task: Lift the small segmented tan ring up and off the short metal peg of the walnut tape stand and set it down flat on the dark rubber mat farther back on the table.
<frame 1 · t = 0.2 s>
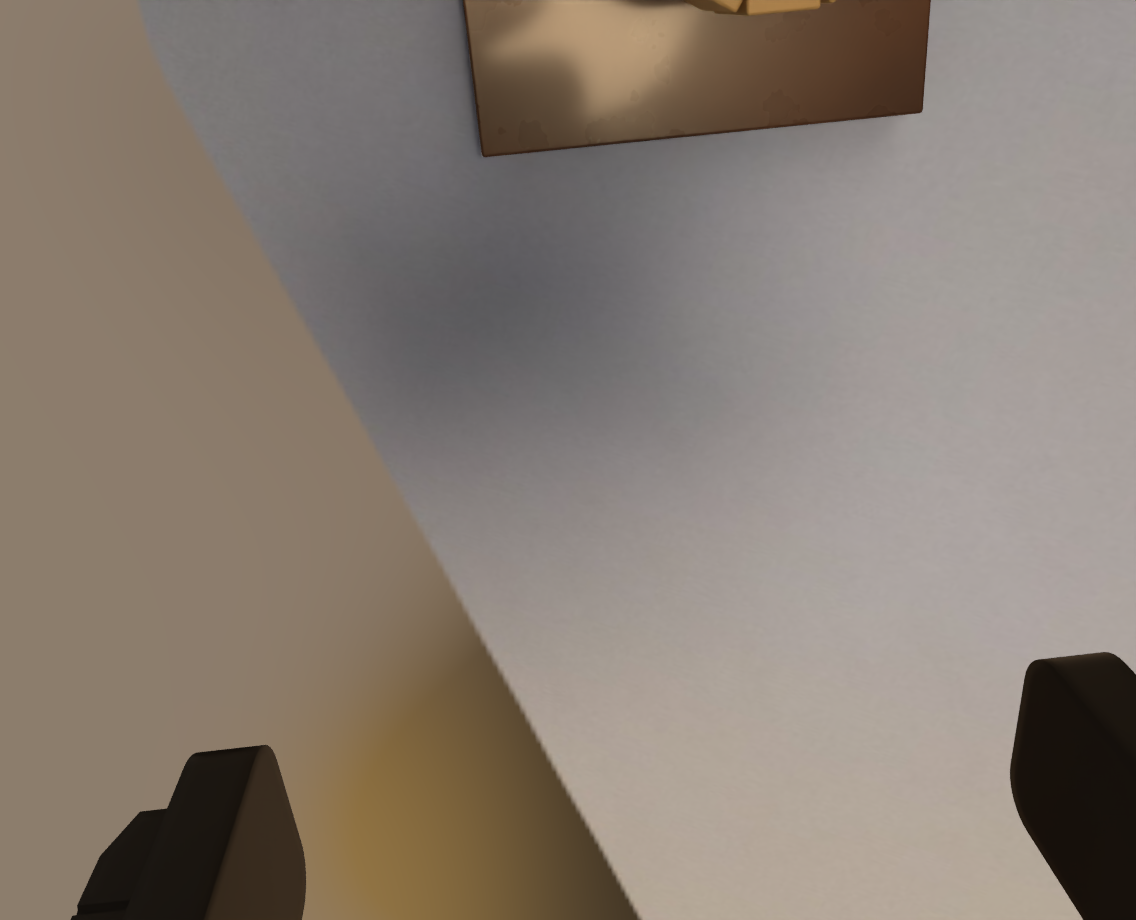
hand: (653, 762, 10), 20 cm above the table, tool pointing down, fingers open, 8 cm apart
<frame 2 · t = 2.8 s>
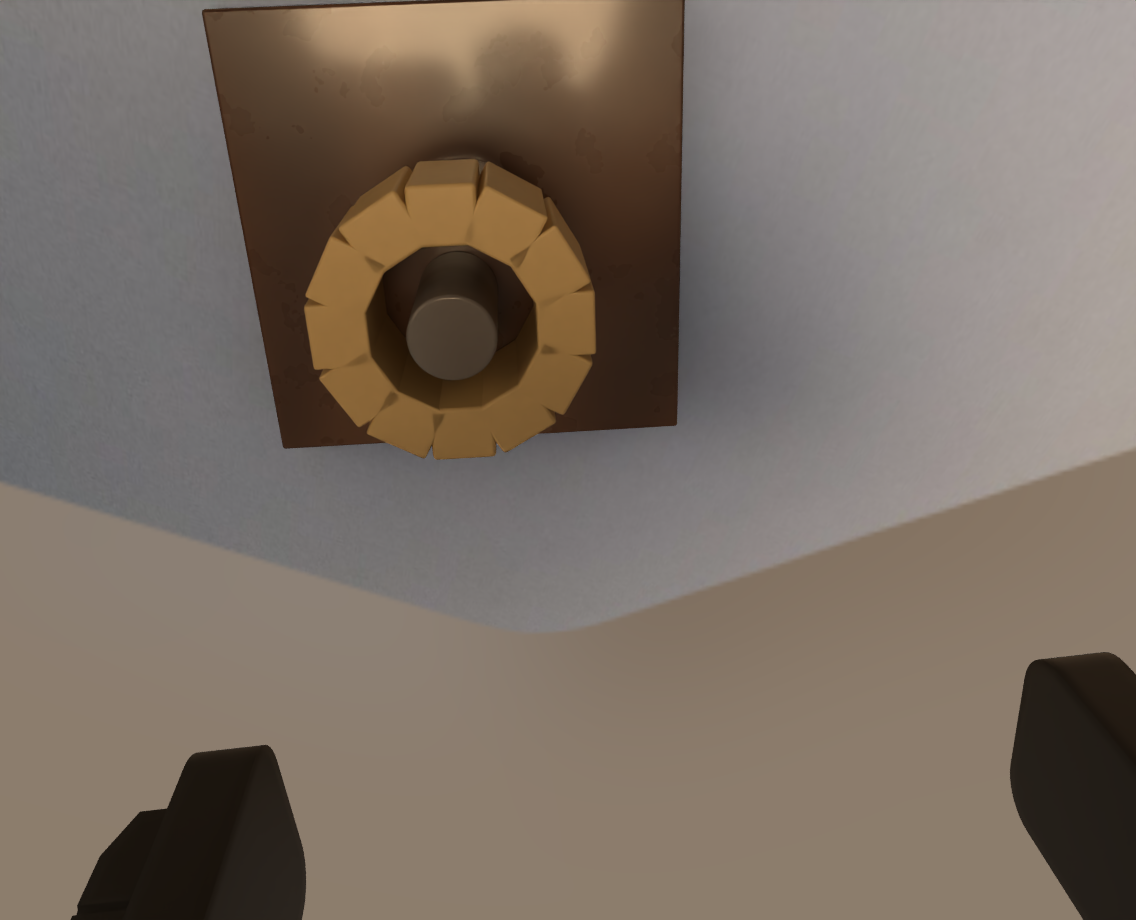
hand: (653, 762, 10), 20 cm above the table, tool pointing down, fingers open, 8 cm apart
segmented tan ring: (458, 289, 22), point 6 cm above the table, touching tape stand
tape stand: (466, 231, 27), on the table
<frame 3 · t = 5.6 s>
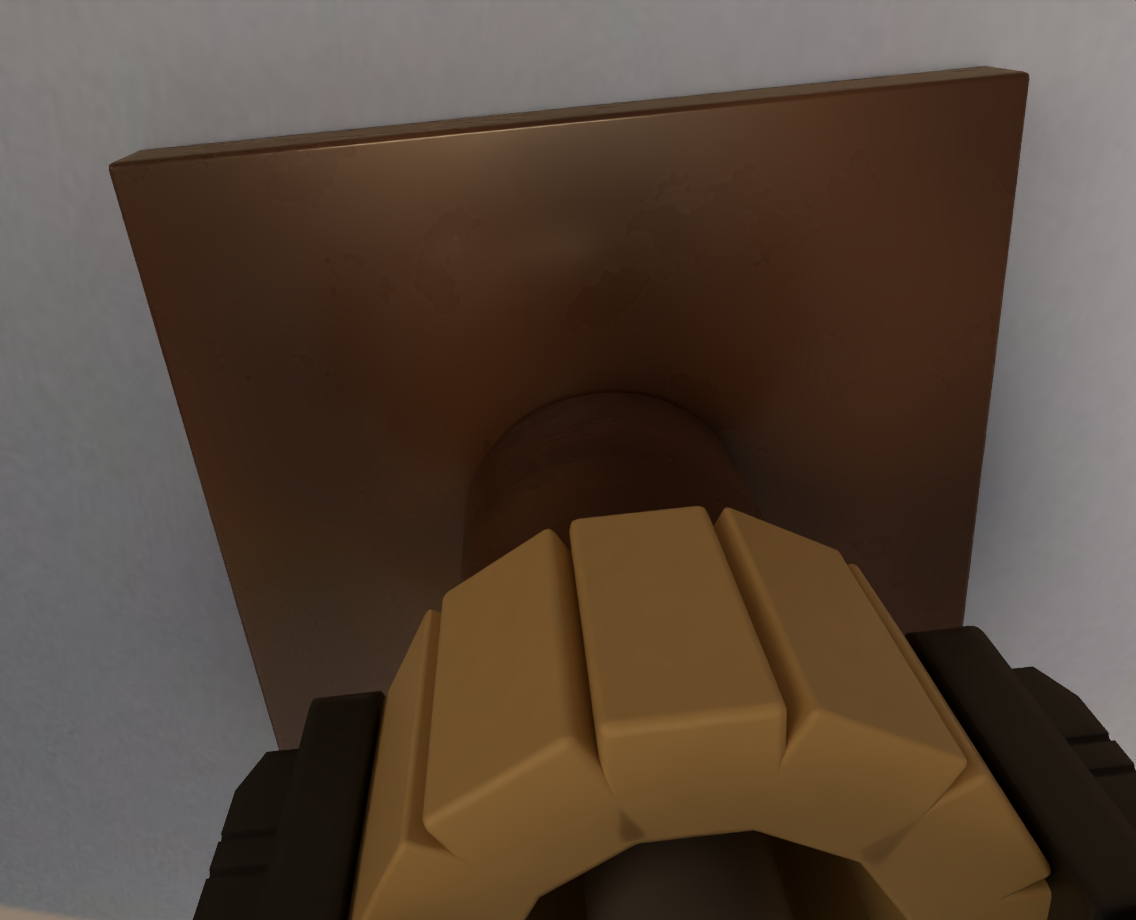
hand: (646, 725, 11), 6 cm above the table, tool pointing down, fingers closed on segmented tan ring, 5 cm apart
segmented tan ring: (651, 735, 11), point 6 cm above the table, touching gripper, tape stand
tape stand: (598, 485, 16), on the table
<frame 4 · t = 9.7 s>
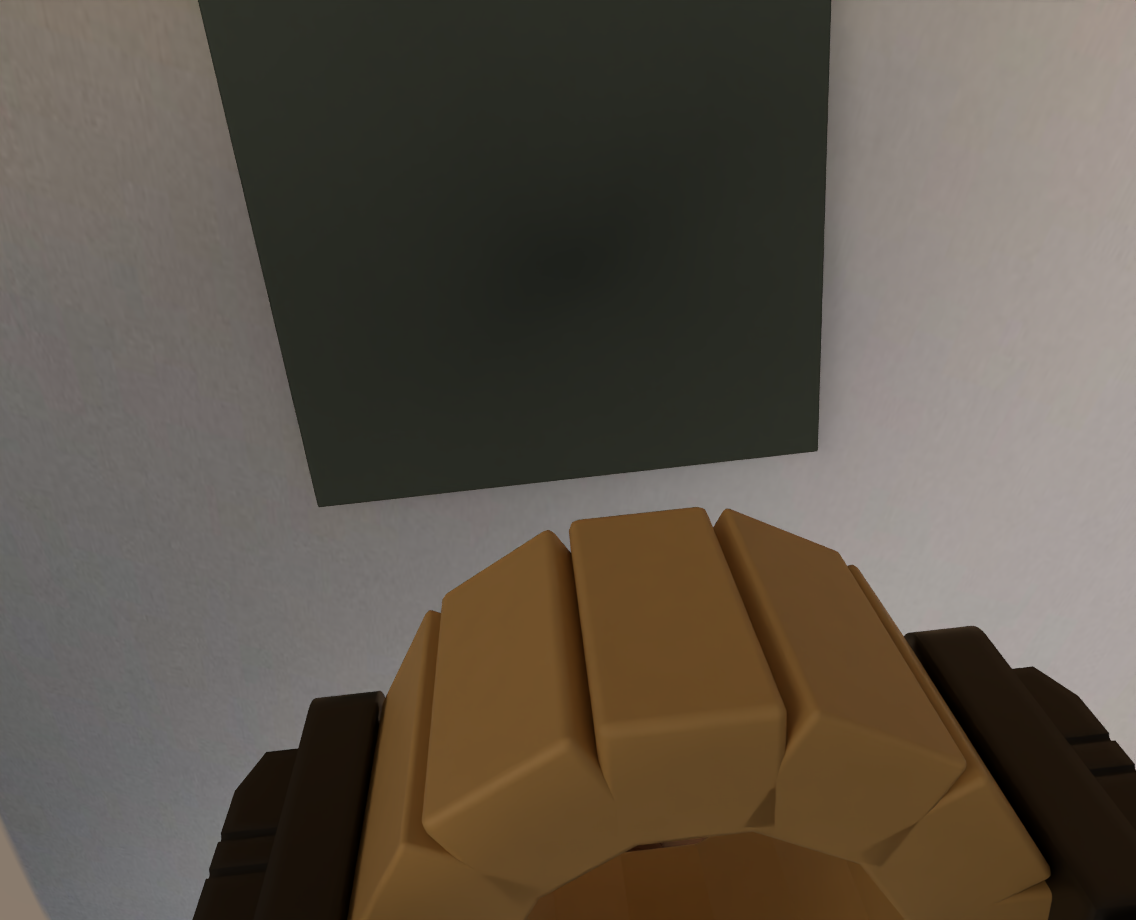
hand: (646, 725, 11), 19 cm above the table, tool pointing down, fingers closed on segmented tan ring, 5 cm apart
segmented tan ring: (650, 736, 11), point 19 cm above the table, touching gripper
tape stand: (604, 827, 38), on the table
mat: (543, 223, 27), on the table
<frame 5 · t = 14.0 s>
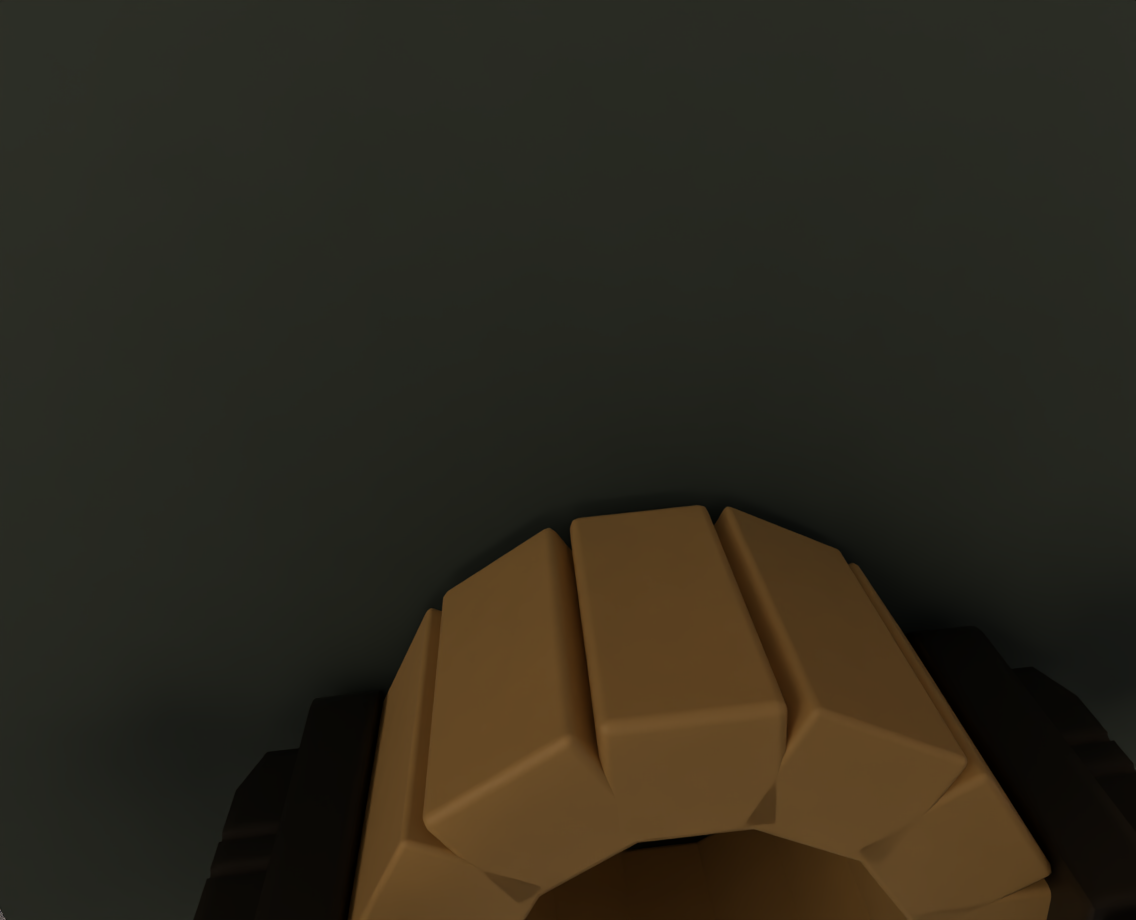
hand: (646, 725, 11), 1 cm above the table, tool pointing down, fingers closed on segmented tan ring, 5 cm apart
segmented tan ring: (651, 734, 11), point 1 cm above the table, touching gripper
mat: (639, 679, 11), on the table
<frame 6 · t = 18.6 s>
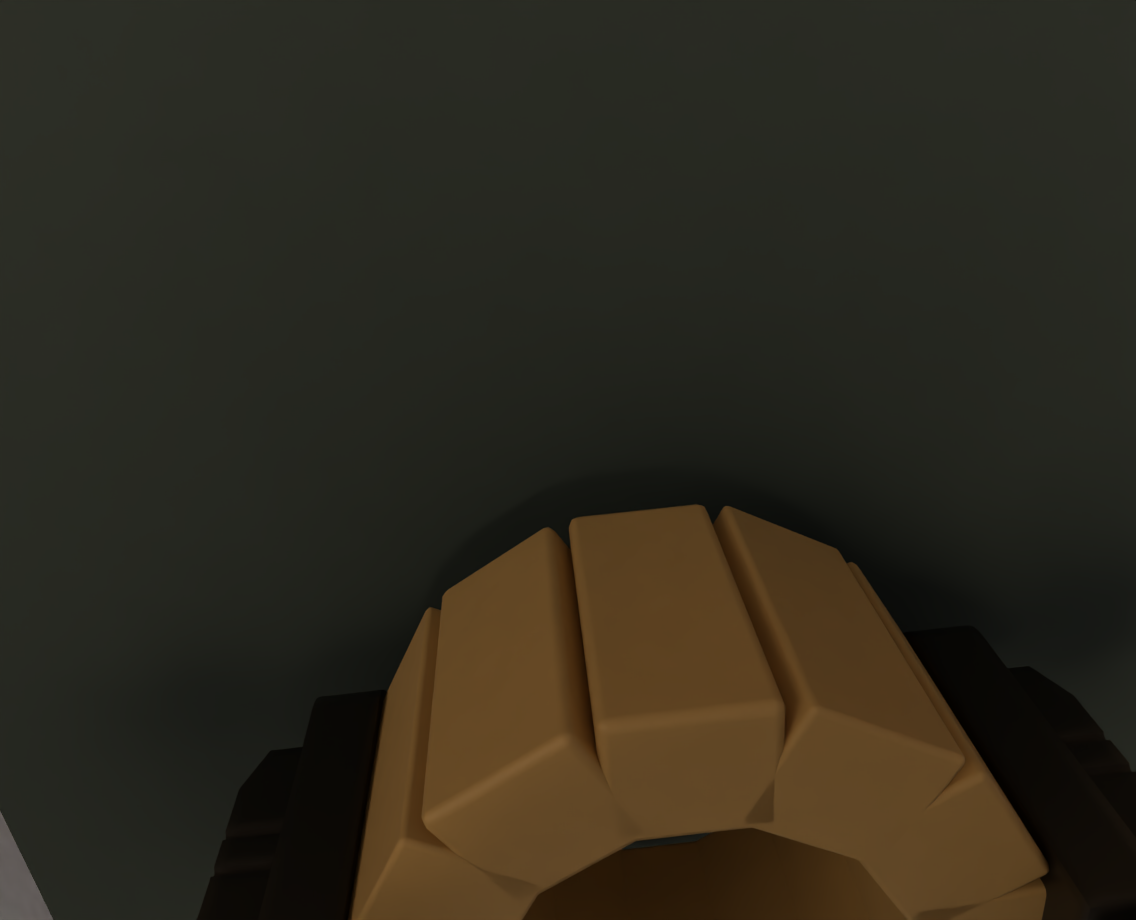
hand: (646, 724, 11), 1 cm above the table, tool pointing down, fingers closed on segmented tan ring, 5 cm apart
segmented tan ring: (650, 733, 11), point 2 cm above the table, touching gripper
mat: (634, 643, 12), on the table
when the fingers open (1 cm above the table, at t = 23.0 s): segmented tan ring drops 1 cm, resting on mat.
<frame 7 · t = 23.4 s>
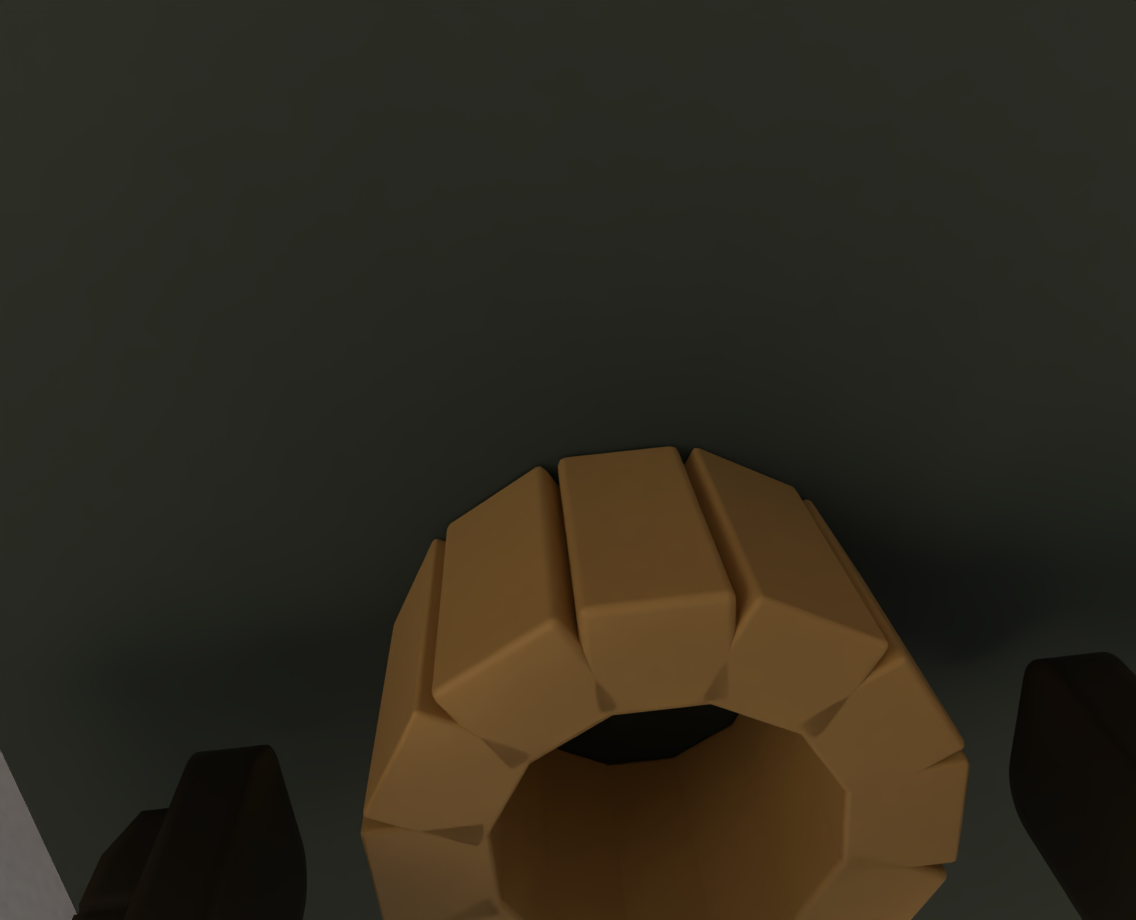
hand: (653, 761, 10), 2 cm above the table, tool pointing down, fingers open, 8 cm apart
segmented tan ring: (631, 656, 12), point 1 cm above the table, touching mat
mat: (625, 623, 12), on the table
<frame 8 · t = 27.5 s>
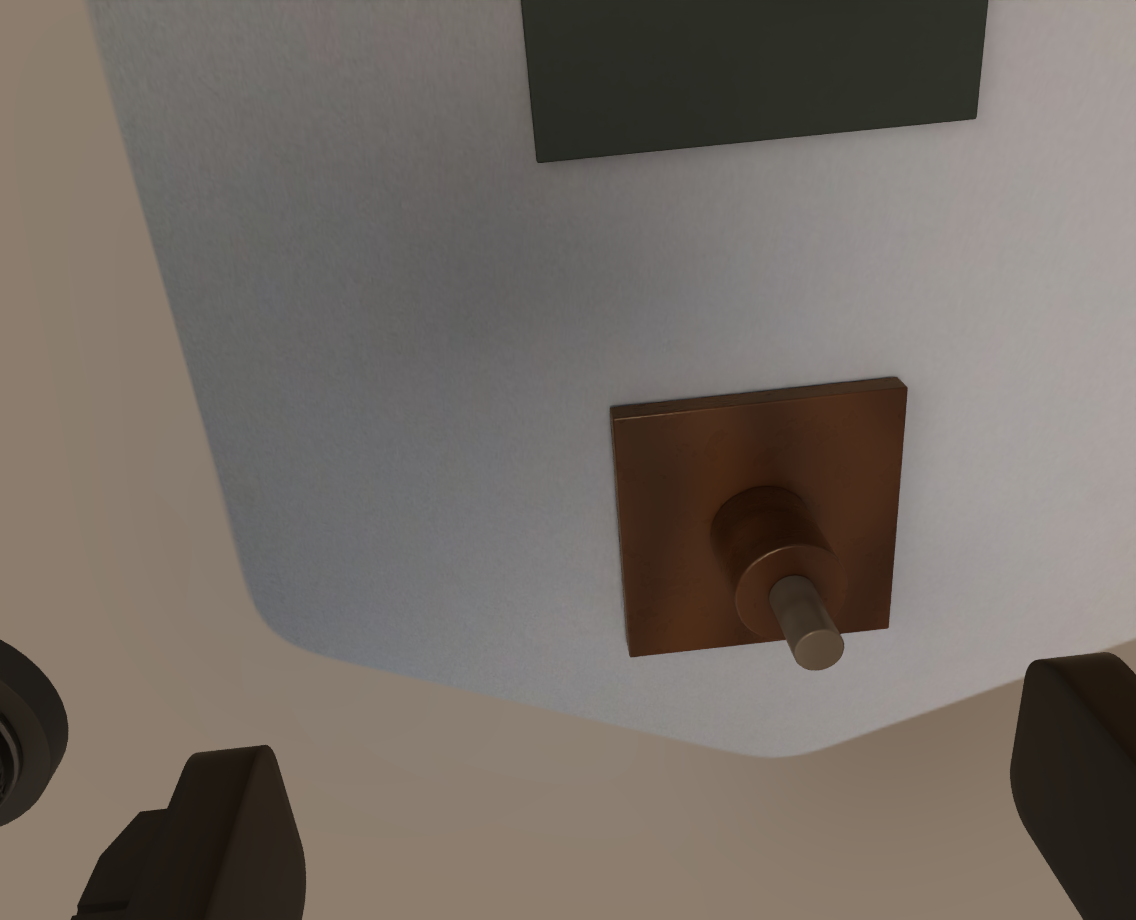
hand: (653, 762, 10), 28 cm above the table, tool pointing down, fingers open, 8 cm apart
tape stand: (753, 517, 42), on the table
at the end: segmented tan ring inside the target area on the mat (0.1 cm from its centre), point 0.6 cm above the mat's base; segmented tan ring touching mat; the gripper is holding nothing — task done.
